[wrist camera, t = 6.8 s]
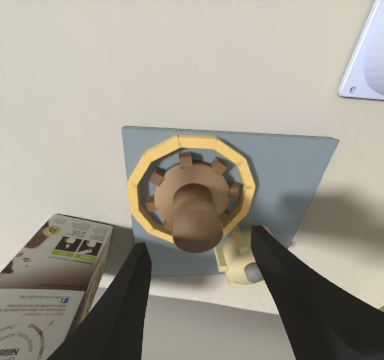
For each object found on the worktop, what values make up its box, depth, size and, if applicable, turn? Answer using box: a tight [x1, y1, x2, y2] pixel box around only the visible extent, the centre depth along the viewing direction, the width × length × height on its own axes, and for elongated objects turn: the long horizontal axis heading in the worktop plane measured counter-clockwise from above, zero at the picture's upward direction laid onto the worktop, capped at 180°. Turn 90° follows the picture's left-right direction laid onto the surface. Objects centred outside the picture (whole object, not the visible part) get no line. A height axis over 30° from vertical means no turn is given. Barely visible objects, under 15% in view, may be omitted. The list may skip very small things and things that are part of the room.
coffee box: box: [0, 214, 113, 360], centre depth 14 cm, size 9×6×16 cm
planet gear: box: [145, 151, 239, 253], centre depth 15 cm, size 9×9×6 cm
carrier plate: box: [122, 126, 339, 287], centre depth 18 cm, size 19×19×5 cm
